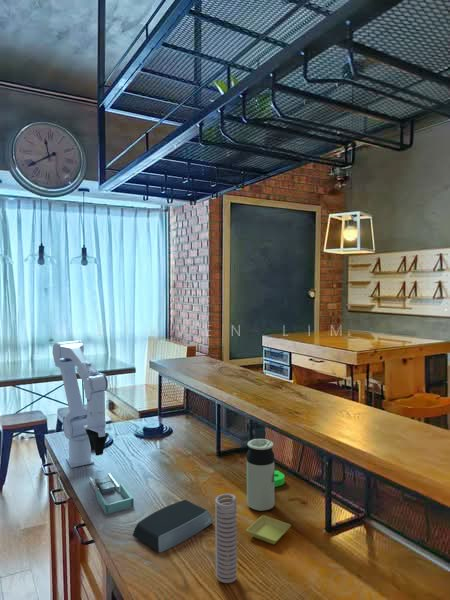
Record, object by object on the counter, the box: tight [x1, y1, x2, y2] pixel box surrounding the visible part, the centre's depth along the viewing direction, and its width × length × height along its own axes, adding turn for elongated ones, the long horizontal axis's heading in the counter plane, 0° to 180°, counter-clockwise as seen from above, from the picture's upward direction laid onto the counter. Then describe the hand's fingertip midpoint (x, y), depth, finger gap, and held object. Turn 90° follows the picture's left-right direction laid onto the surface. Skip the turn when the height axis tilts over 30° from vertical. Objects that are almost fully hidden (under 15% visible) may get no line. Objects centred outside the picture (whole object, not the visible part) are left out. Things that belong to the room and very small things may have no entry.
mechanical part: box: [245, 466, 285, 488], centre depth 139 cm, size 12×6×8 cm, turn 119°
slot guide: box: [88, 472, 120, 493], centre depth 137 cm, size 11×7×2 cm, turn 30°
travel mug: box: [246, 438, 275, 512], centre depth 125 cm, size 8×8×18 cm
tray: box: [95, 483, 135, 515], centre depth 127 cm, size 11×8×2 cm
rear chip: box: [94, 475, 111, 488], centre depth 138 cm, size 4×4×2 cm
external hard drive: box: [132, 499, 214, 554], centre depth 114 cm, size 12×18×4 cm
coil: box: [214, 493, 238, 584], centre depth 94 cm, size 5×5×18 cm
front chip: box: [99, 482, 116, 496], centre depth 134 cm, size 4×4×2 cm
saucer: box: [246, 514, 292, 545], centre depth 111 cm, size 9×9×2 cm
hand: (96, 451), depth 144 cm, fingers open, 5 cm apart
